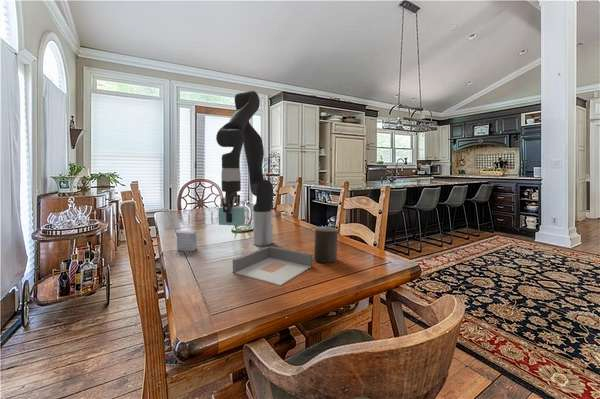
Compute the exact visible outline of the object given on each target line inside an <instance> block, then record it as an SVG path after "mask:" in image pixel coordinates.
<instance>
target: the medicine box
mask: <svg viewBox="0 0 600 399" xmlns="http://www.w3.org/2000/svg"><path fill="white" fill-rule="evenodd" d="M175 234H176V249H177V251H178V252H194V251H196V250H197V249H198V242H197V240H198V239H197V238H198V237H197V231H192V230H190V231H189V230H187V231H186V230H180V231H178V232H177V233H175Z"/></svg>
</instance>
